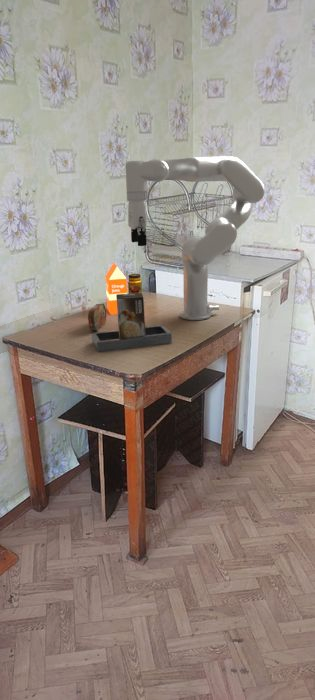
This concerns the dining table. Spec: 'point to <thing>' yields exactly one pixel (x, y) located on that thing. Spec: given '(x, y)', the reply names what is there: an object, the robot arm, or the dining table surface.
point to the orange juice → (114, 287)
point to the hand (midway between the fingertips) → (138, 243)
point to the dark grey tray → (131, 339)
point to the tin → (97, 317)
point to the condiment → (134, 284)
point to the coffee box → (130, 315)
